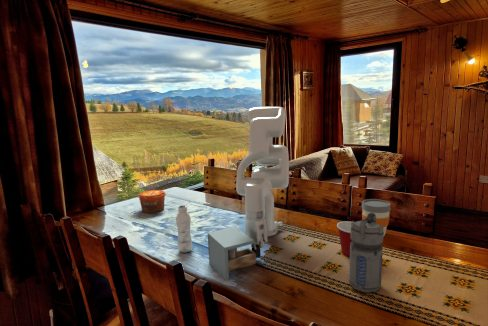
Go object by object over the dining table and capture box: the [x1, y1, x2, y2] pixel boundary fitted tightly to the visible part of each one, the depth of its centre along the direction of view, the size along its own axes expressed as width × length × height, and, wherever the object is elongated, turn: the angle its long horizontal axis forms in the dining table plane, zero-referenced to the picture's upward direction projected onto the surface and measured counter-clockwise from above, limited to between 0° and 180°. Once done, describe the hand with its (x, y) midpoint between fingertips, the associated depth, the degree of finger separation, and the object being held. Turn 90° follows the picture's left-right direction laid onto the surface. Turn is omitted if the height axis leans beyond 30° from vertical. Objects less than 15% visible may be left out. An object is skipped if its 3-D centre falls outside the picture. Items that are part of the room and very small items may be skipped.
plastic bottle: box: [175, 205, 193, 254], centre depth 142 cm, size 6×7×20 cm
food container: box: [137, 189, 167, 214], centre depth 200 cm, size 16×16×11 cm
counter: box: [207, 226, 254, 282], centre depth 128 cm, size 12×16×13 cm
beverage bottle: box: [348, 213, 385, 293], centre depth 111 cm, size 10×13×25 cm
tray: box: [228, 247, 257, 273], centre depth 129 cm, size 14×6×7 cm, turn 119°
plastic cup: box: [336, 220, 355, 257], centre depth 136 cm, size 11×11×12 cm
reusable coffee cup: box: [361, 198, 392, 237], centre depth 155 cm, size 13×13×15 cm
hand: (256, 256), depth 134 cm, fingers closed
